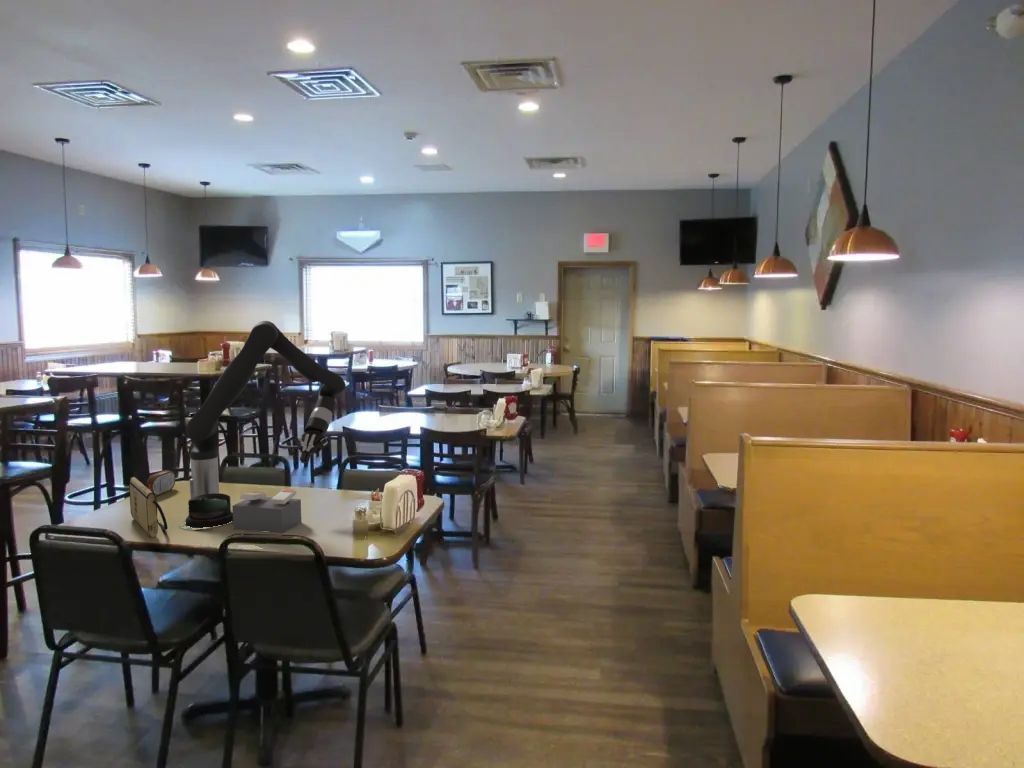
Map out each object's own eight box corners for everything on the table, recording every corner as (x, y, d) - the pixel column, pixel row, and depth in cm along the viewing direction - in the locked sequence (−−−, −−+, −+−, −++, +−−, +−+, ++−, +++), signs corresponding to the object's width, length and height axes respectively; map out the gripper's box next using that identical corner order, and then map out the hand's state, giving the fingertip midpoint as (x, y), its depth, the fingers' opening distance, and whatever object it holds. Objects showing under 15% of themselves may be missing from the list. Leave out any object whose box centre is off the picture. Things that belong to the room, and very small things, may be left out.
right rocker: (284, 493, 236) (283, 488, 236) (296, 494, 235) (295, 489, 235) (271, 503, 229) (271, 498, 228) (284, 504, 228) (283, 499, 227)
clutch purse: (173, 535, 222) (171, 490, 221) (149, 540, 218) (147, 494, 216) (151, 514, 245) (149, 473, 243) (129, 518, 241) (126, 476, 239)
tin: (170, 488, 280) (169, 467, 279) (177, 488, 280) (176, 468, 279) (145, 498, 266) (144, 476, 265) (153, 498, 265) (152, 477, 264)
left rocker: (254, 496, 237) (254, 491, 237) (265, 497, 236) (266, 492, 236) (240, 499, 229) (240, 493, 229) (252, 500, 228) (252, 494, 228)
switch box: (254, 518, 241) (253, 494, 240) (301, 522, 237) (300, 497, 236) (233, 529, 229) (232, 503, 228) (282, 533, 225) (281, 507, 224)
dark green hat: (234, 510, 251) (233, 485, 250) (247, 524, 235) (246, 497, 234) (174, 519, 240) (172, 493, 239) (184, 535, 224) (182, 507, 223)
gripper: (298, 415, 253) (281, 455, 242) (332, 416, 250) (316, 457, 239) (306, 427, 258) (290, 466, 248) (339, 428, 256) (324, 468, 245)
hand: (303, 462), depth 244 cm, fingers closed
